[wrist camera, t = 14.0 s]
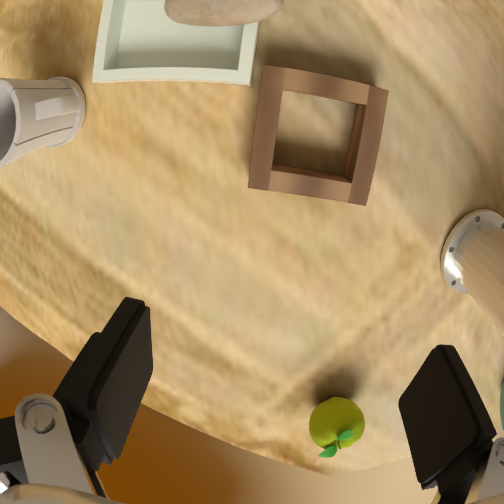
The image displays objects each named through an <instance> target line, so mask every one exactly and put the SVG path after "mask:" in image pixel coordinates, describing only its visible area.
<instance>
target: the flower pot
mask: <svg viewBox="0 0 504 504" xmlns="http://www.w3.org/2000/svg"><path fill="white" fill-rule="evenodd" d="M500 416H501V422H502V428H503V431H504V381H503V384H502V388H501V395H500Z"/></svg>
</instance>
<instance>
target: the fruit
mask: <svg viewBox="0 0 504 504" xmlns="http://www.w3.org/2000/svg"><path fill="white" fill-rule="evenodd" d="M364 428H365V420H364V416H363V413H362V411H361V410H360V408H359V407H358V406H357V405H356V404H355V403H354V402H353V401H351V400H349V399H345V398H341V397H331V398H330V399H328V400H325V401H323V402H321V403H320V404H319V405H318V406H317V407H316V408H315V409H314V410H313V412H312V414H311V417H310V422H309V431H310V435H311V438H312V440H313V441H314V442H315V443H316V444H317V445H318V446H320V447H322V448H324V449H325V450H324V451H323V452H322V453H321V454H320V455H319V457H333V456H334V455H335V454H336V452H337V450H338V449H341V448H346V447H349V446H351V445H352V444H353V443H354V442H356V441H358V440H359V439H360V438H361V436H362V434H363V432H364Z"/></svg>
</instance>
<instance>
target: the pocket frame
mask: <svg viewBox="0 0 504 504" xmlns="http://www.w3.org/2000/svg"><path fill="white" fill-rule="evenodd" d="M282 90H285V91H292V92H298V93H304V94H309V95H315V96H320V97H325V98H330V99H335V100H340V101H344V102H349V103H353V104H356V111H355V117H354V123H353V129H352V134H351V140H350V145H349V151H348V156H347V161H346V167H345V172H344V176H343V175H338V174H332V173H327V172H321V171H315V170H309V169H303V168H296V167H289V166H283V165H276V164H272V161H273V154H274V147H275V140H276V133H277V126H278V118H279V111H280V104H281V97H282ZM387 98H388V90H385V89H381V88H378V87H374V86H371V85H367V84H363V83H359V82H355V81H351V80H347V79H342V78H338V77H333V76H329V75H324V74H319V73H313V72H308V71H302V70H296V69H290V68H283V67H276V66H269V65H263V71H262V79H261V86H260V94H259V102H258V109H257V117H256V125H255V133H254V141H253V149H252V157H251V165H250V173H249V181H248V188H253V189H260V190H268V191H275V192H283V193H290V194H296V195H303V196H310V197H316V198H322V199H329V200H335V201H341V202H347V203H352V204H358V205H364V206H366V203H367V199H368V195H369V191H370V186H371V182H372V178H373V173H374V168H375V164H376V159H377V154H378V149H379V144H380V139H381V133H382V128H383V122H384V116H385V110H386V104H387Z"/></svg>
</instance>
